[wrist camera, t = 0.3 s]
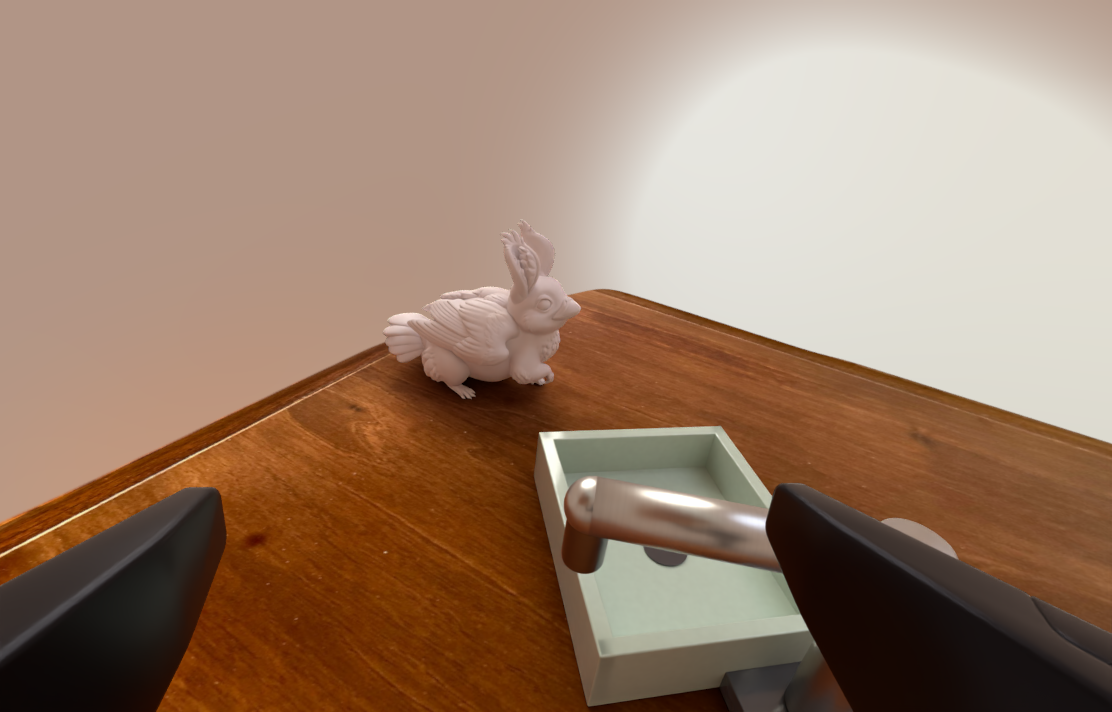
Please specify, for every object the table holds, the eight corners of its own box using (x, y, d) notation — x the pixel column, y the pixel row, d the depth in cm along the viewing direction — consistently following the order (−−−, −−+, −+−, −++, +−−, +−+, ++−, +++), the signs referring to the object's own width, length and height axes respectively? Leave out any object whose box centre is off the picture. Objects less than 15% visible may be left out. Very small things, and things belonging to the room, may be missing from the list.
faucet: (836, 686, 24) (939, 524, 19) (854, 748, 21) (974, 583, 17) (544, 624, 25) (571, 455, 20) (534, 677, 22) (562, 503, 18)
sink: (915, 797, 21) (958, 751, 20) (622, 861, 19) (642, 814, 17) (707, 466, 37) (721, 425, 36) (533, 475, 35) (538, 431, 33)
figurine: (558, 426, 39) (582, 257, 33) (364, 382, 41) (352, 215, 35) (578, 371, 46) (601, 223, 40) (411, 336, 48) (408, 190, 42)
